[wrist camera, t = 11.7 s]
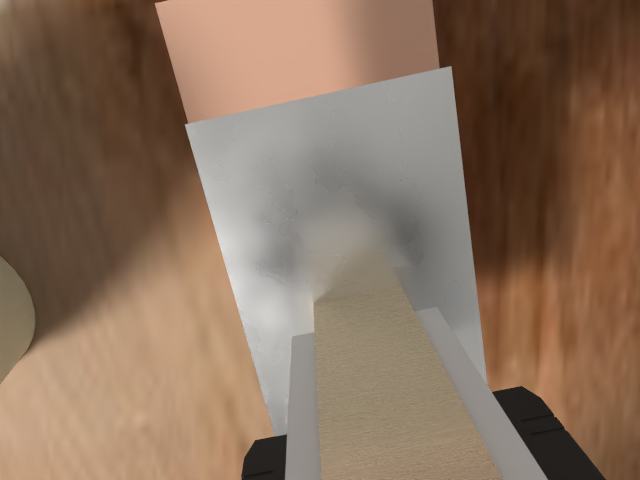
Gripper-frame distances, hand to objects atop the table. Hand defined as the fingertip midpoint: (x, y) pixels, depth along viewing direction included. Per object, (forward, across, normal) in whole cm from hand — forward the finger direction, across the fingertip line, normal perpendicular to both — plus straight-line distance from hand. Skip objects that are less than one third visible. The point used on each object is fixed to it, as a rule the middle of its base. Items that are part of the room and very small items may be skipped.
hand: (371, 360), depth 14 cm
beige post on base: (+3, 0, 0) cm, 3 cm away
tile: (+11, 0, -1) cm, 11 cm away
